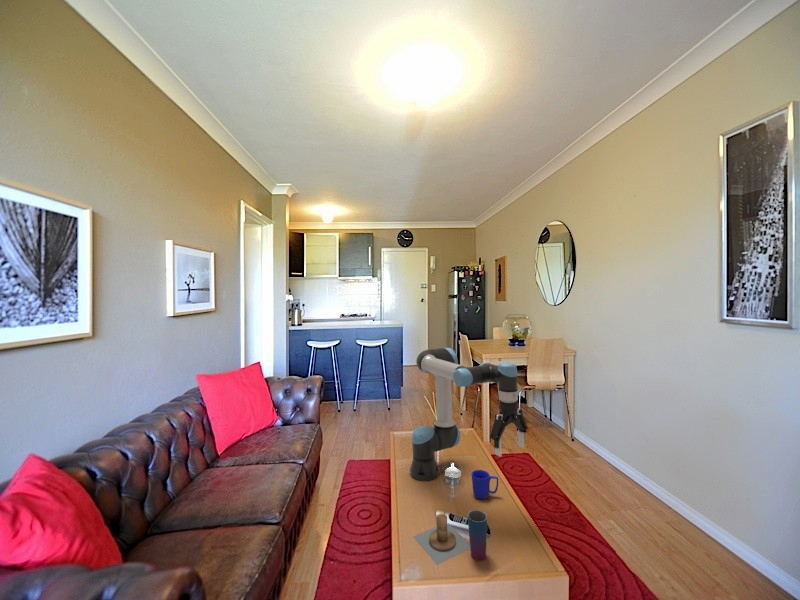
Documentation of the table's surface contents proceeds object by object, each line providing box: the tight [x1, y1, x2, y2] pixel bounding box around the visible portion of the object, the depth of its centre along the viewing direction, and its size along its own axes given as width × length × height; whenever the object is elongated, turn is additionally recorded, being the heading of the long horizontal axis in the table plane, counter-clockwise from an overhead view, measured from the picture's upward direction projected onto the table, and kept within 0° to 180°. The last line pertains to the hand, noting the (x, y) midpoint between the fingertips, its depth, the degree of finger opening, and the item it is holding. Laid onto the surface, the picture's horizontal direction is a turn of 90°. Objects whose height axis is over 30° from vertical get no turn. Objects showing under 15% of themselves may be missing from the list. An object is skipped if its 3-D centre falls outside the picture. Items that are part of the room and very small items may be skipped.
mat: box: [412, 524, 471, 565], centre depth 128 cm, size 16×16×1 cm
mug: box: [471, 469, 499, 500], centre depth 157 cm, size 8×12×10 cm
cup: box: [467, 509, 488, 562], centre depth 120 cm, size 7×7×15 cm
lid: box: [429, 513, 456, 551], centre depth 128 cm, size 10×10×9 cm
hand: (509, 451), depth 142 cm, fingers open, 13 cm apart
